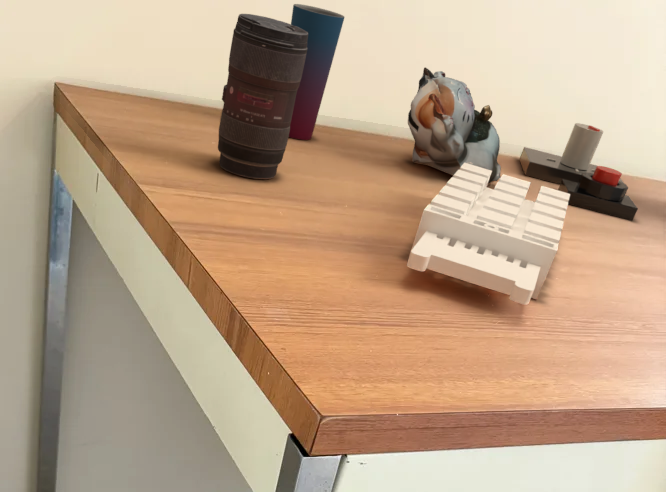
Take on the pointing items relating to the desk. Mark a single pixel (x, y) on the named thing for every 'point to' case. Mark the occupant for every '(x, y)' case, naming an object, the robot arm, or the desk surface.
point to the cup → (313, 65)
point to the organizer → (491, 233)
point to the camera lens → (260, 95)
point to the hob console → (550, 167)
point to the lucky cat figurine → (451, 127)
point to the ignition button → (607, 175)
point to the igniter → (599, 196)
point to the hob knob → (581, 146)
